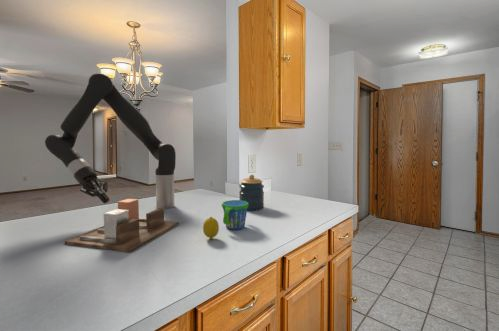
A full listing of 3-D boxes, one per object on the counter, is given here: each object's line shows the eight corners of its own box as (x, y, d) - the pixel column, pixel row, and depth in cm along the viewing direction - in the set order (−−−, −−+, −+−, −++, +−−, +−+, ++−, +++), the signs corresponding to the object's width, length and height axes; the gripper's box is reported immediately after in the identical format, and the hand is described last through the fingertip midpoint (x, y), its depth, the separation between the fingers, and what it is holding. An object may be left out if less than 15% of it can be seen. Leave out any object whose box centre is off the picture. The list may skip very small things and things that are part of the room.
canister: (268, 207, 144) (268, 174, 142) (255, 212, 133) (256, 177, 131) (247, 204, 150) (247, 172, 149) (234, 209, 140) (234, 175, 138)
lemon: (206, 242, 93) (205, 220, 92) (201, 237, 98) (201, 215, 97) (221, 240, 96) (221, 217, 95) (215, 235, 101) (215, 214, 100)
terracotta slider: (118, 223, 109) (117, 201, 108) (128, 219, 115) (128, 198, 114) (129, 224, 108) (128, 202, 107) (138, 220, 114) (138, 199, 113)
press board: (64, 244, 91) (63, 223, 90) (126, 219, 120) (125, 203, 119) (131, 252, 85) (130, 230, 84) (179, 224, 113) (178, 207, 113)
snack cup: (235, 235, 100) (235, 208, 100) (212, 230, 106) (212, 205, 105) (255, 224, 114) (256, 200, 113) (235, 220, 119) (235, 197, 118)
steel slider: (104, 239, 92) (103, 213, 91) (117, 233, 97) (116, 209, 97) (117, 240, 90) (116, 214, 90) (129, 234, 96) (128, 210, 95)
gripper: (73, 166, 108) (99, 199, 106) (99, 164, 121) (123, 193, 119) (63, 179, 110) (89, 211, 108) (90, 175, 123) (113, 204, 120)
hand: (107, 201), depth 113 cm, fingers closed
